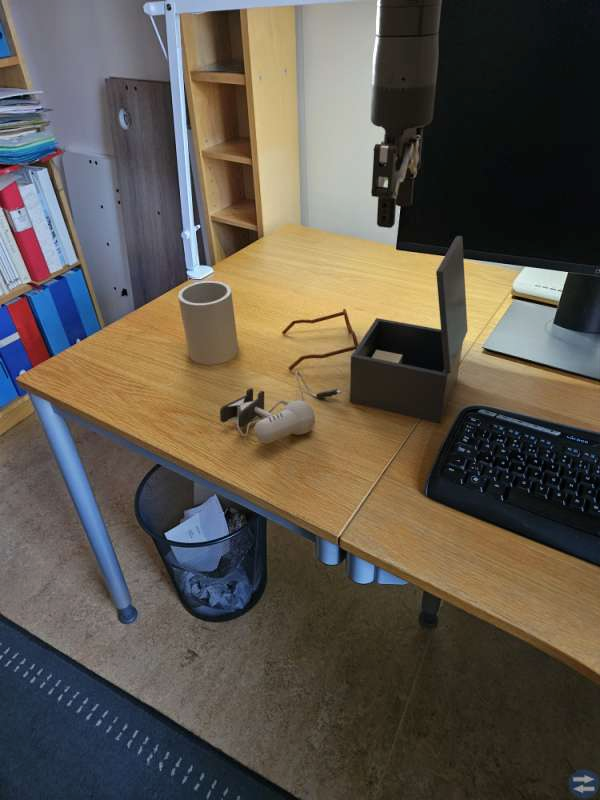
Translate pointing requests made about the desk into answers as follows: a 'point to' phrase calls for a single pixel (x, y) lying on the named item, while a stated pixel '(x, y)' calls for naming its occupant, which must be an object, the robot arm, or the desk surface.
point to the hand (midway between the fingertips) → (394, 215)
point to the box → (403, 371)
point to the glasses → (329, 352)
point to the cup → (209, 322)
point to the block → (388, 356)
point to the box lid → (452, 302)
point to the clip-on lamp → (273, 427)
